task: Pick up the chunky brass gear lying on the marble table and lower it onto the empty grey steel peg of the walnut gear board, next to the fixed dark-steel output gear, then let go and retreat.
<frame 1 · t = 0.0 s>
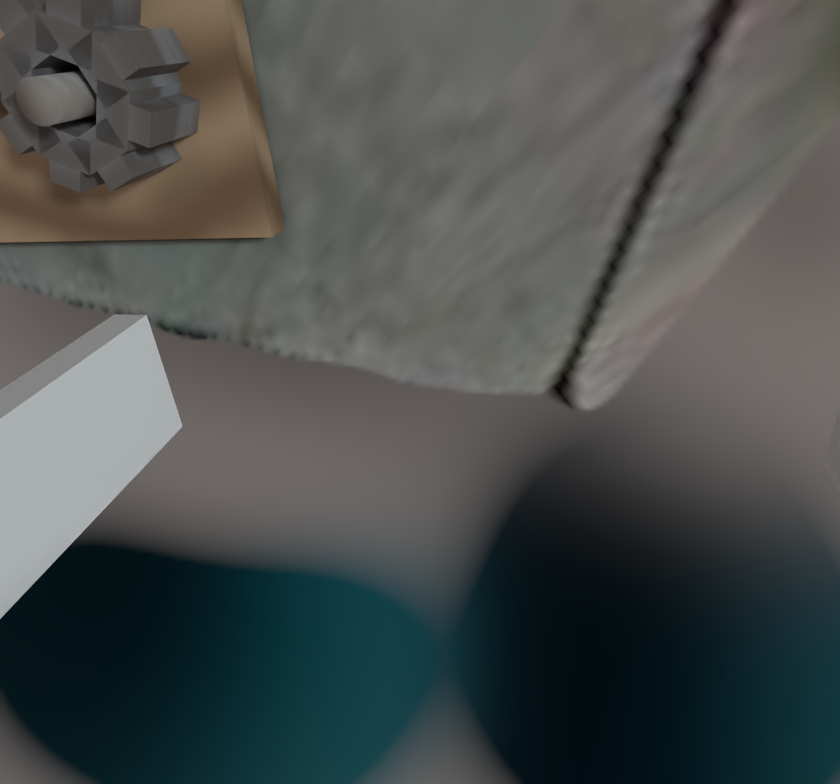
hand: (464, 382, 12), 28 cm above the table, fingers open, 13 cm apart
gear board: (65, 90, 40), on the table
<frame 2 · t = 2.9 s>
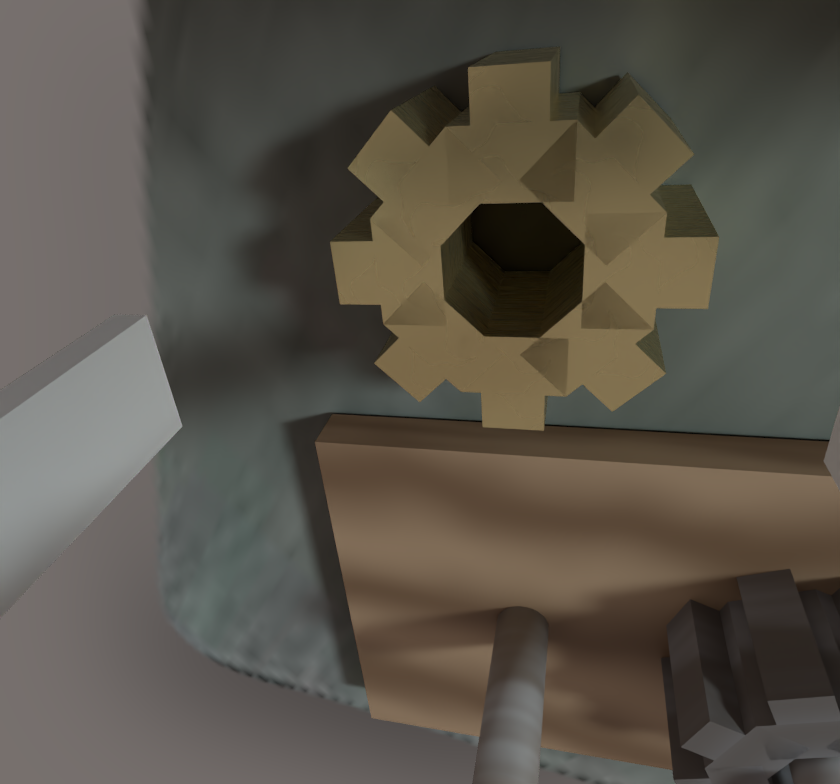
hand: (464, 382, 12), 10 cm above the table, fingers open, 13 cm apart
gear board: (641, 601, 28), on the table
brass gear: (527, 218, 20), on the table
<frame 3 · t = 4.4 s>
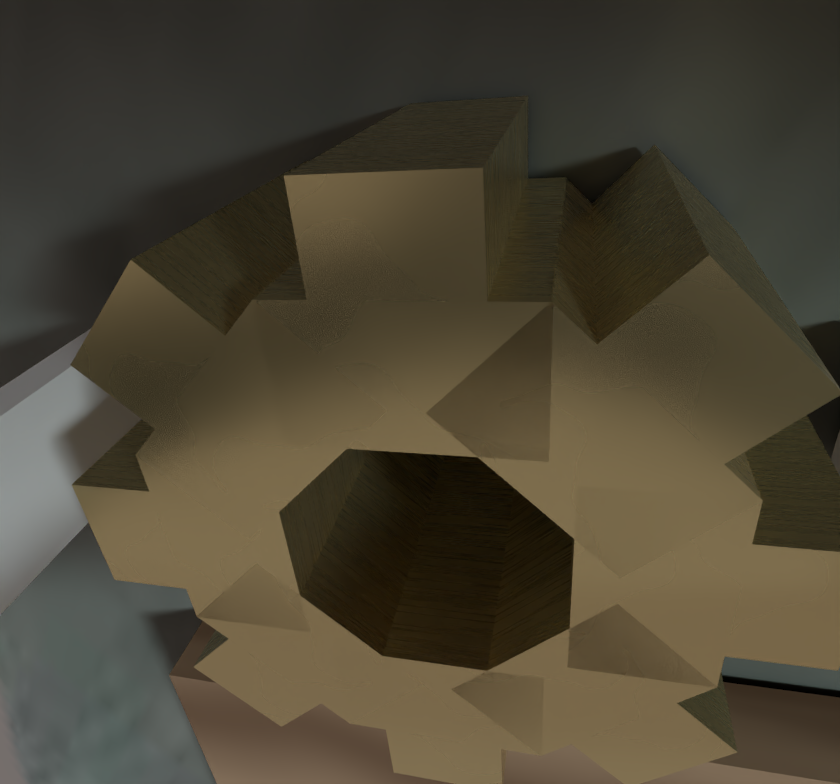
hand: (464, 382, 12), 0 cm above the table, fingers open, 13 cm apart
brass gear: (479, 375, 12), on the table
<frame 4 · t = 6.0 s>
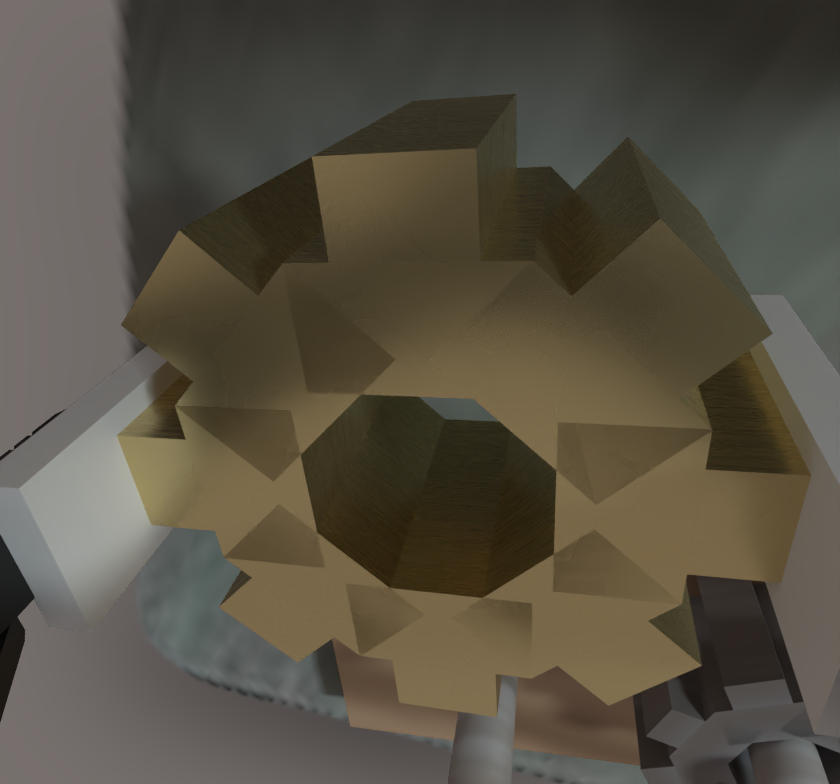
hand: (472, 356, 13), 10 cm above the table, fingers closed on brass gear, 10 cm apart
gear board: (609, 601, 29), on the table
brass gear: (474, 348, 13), point 10 cm above the table, touching gripper
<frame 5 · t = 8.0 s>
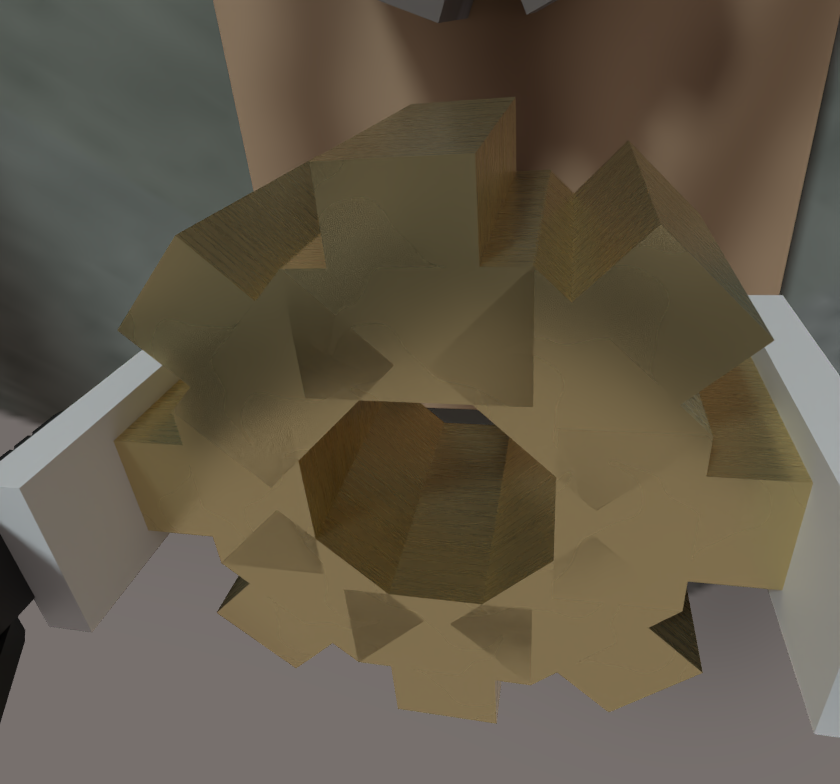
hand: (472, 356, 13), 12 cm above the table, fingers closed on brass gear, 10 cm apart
gear board: (508, 39, 21), on the table
brass gear: (473, 352, 13), point 12 cm above the table, touching gripper
when the fingers open (4 cm above the table, at t = 10.4 s): brass gear drops 1 cm, resting on gear board.
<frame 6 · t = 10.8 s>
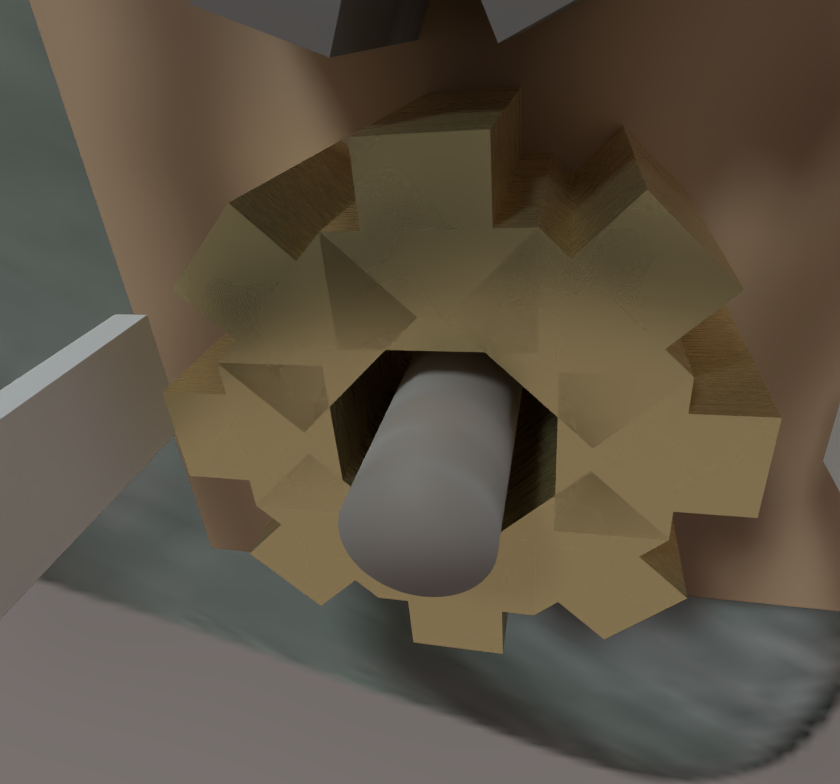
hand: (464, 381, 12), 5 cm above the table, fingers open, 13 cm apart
gear board: (486, 70, 14), on the table
brass gear: (481, 322, 14), point 2 cm above the table, touching gear board
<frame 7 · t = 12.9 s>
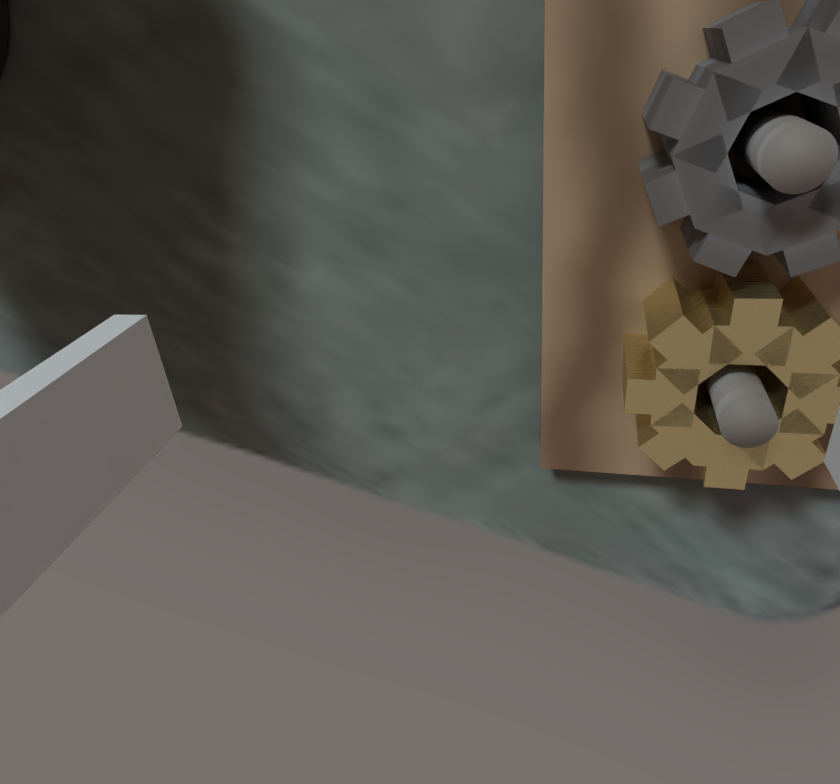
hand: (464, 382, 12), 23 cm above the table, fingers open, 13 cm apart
gear board: (729, 244, 32), on the table
brass gear: (721, 352, 32), point 2 cm above the table, touching gear board
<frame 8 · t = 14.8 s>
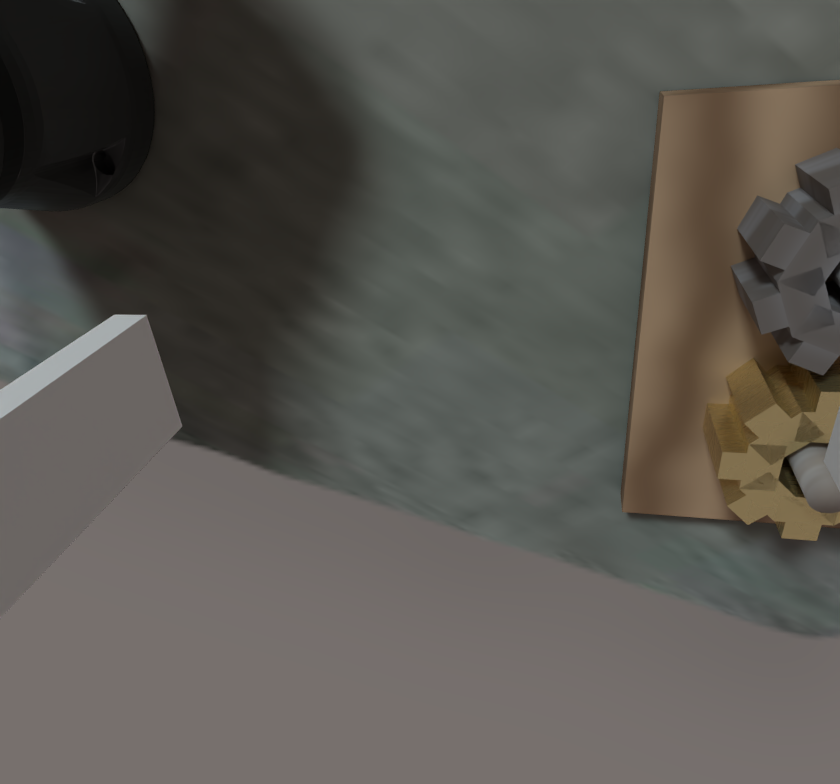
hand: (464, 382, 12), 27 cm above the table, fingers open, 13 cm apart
gear board: (800, 328, 37), on the table
brass gear: (792, 419, 37), point 2 cm above the table, touching gear board
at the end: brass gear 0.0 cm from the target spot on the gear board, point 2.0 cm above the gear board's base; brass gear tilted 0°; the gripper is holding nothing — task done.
